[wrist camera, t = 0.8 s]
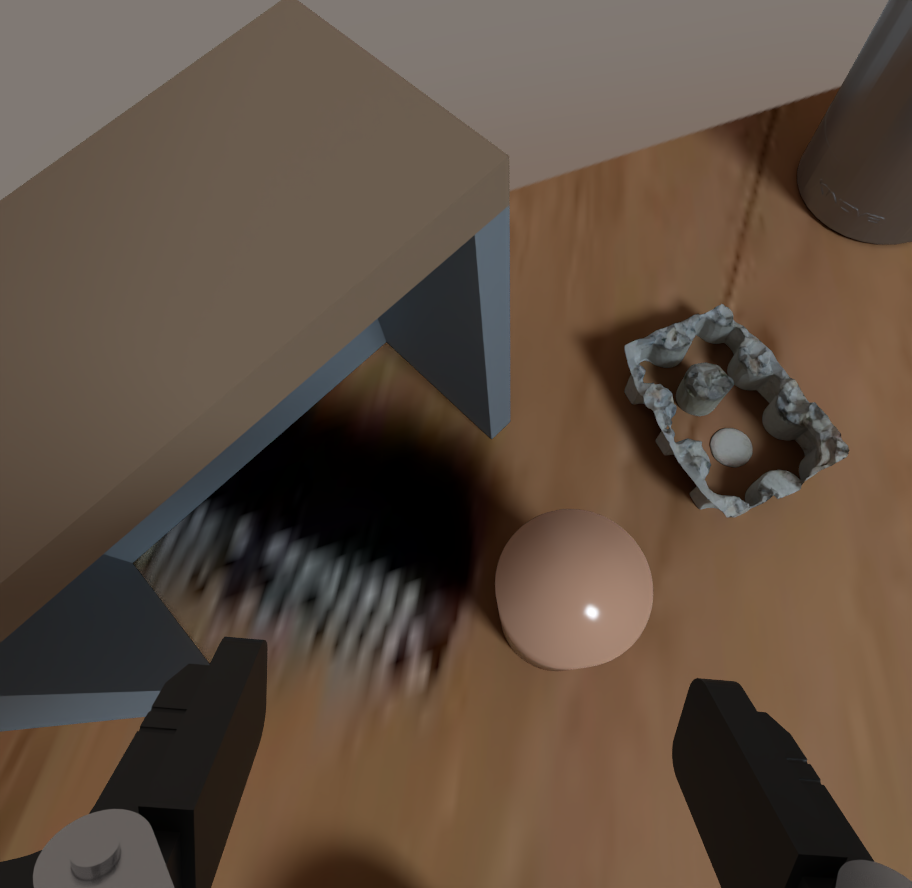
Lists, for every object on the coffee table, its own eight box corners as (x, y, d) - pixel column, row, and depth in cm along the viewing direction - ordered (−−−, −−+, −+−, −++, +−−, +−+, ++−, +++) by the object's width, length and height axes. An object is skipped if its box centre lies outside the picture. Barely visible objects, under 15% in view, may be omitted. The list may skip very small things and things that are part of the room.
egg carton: (824, 482, 35) (864, 458, 31) (697, 537, 34) (721, 519, 30) (722, 322, 38) (746, 283, 34) (606, 370, 38) (616, 335, 34)
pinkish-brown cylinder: (551, 538, 35) (568, 479, 24) (631, 615, 33) (686, 585, 23) (477, 613, 34) (463, 584, 23) (556, 695, 32) (578, 704, 22)
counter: (393, 316, 40) (289, -6, 21) (510, 421, 37) (509, 155, 18) (100, 569, 36) (-348, 448, 17) (205, 710, 33) (-200, 751, 14)
